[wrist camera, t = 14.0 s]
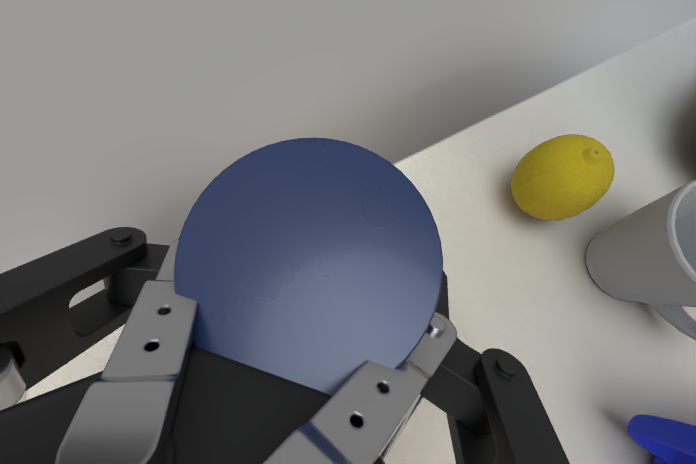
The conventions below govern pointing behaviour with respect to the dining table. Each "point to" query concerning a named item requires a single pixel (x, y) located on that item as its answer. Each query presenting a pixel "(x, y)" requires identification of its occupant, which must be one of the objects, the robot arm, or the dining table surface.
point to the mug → (664, 439)
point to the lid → (311, 262)
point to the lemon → (562, 177)
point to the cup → (652, 257)
